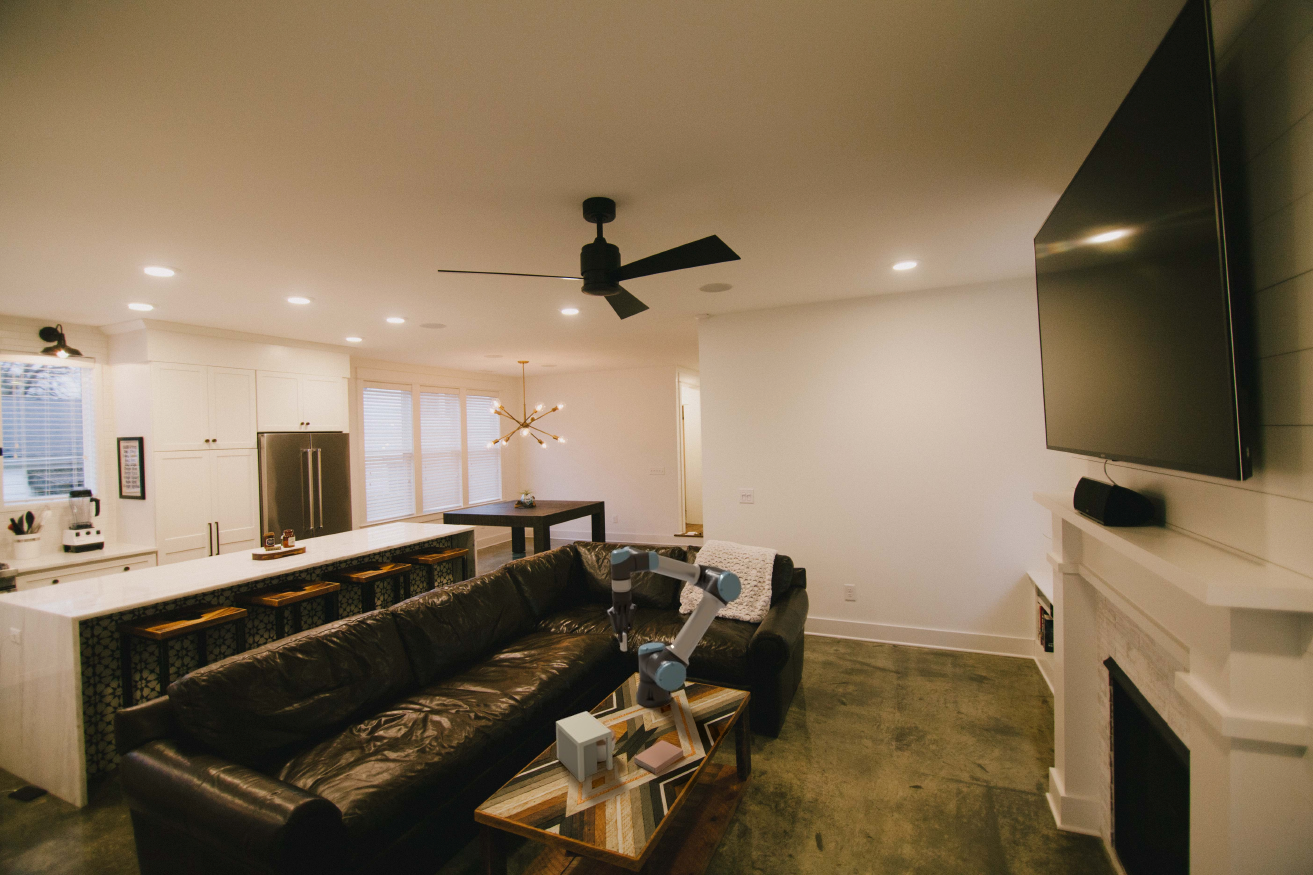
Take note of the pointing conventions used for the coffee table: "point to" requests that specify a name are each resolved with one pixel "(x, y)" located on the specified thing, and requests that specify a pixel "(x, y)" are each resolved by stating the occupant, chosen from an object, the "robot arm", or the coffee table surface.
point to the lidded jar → (604, 747)
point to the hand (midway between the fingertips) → (623, 649)
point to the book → (658, 756)
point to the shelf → (582, 744)
